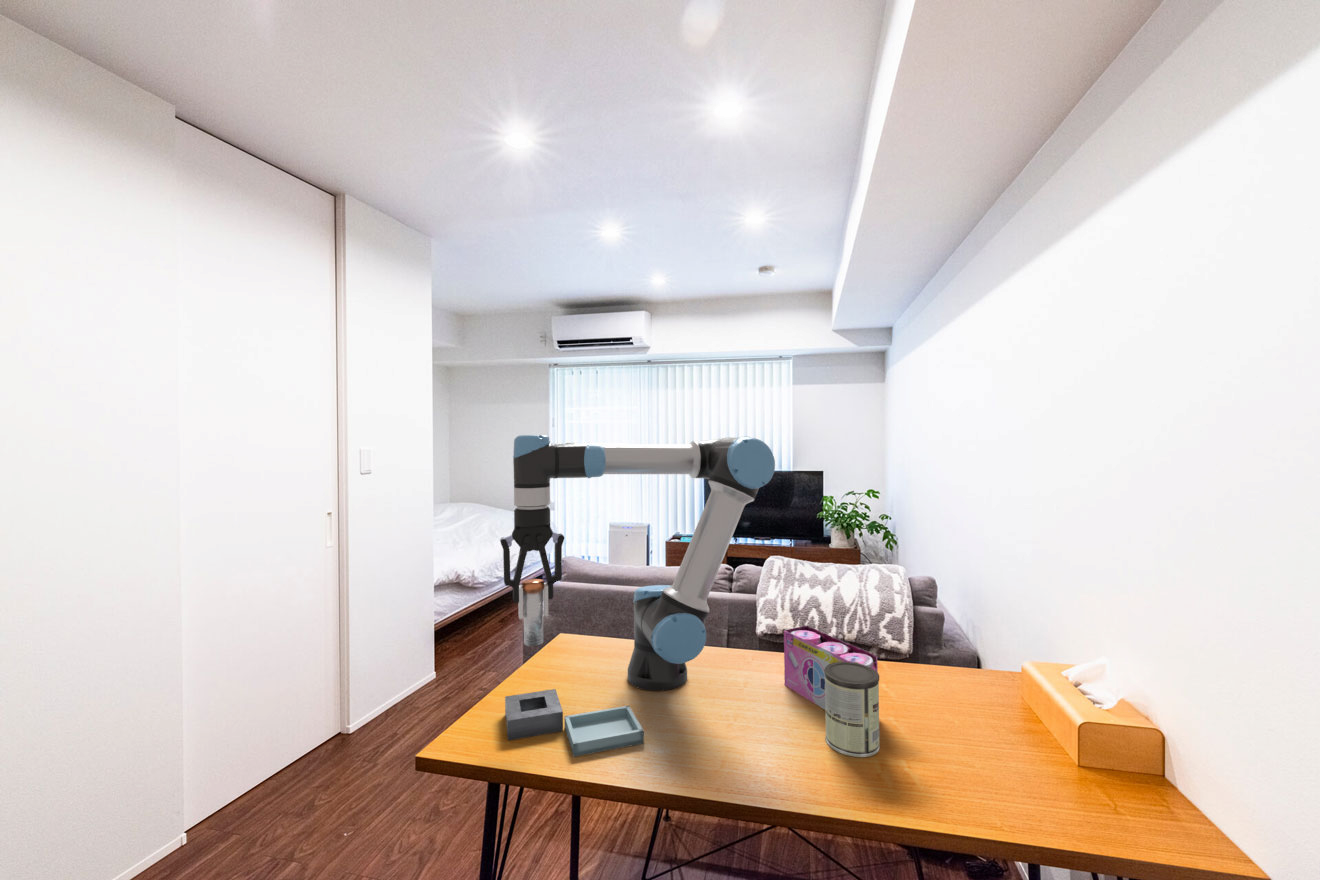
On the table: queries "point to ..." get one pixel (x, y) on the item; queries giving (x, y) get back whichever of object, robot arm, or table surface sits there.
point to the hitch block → (533, 714)
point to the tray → (603, 730)
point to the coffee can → (852, 709)
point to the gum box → (816, 660)
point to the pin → (533, 611)
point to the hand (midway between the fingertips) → (533, 615)
